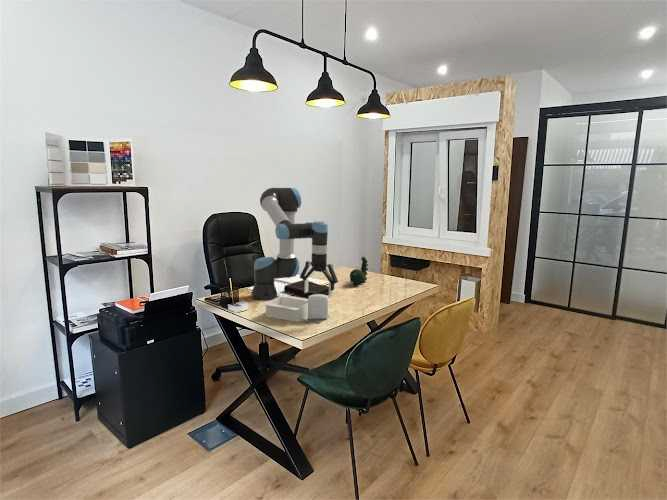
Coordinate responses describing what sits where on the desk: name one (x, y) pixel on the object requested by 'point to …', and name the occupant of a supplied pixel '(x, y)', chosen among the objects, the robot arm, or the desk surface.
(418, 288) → the desk surface
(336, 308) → the desk surface
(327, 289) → the diary
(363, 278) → the toy figurine
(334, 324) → the desk surface
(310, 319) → the mat
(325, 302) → the photo printer
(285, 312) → the carton
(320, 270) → the robot arm
